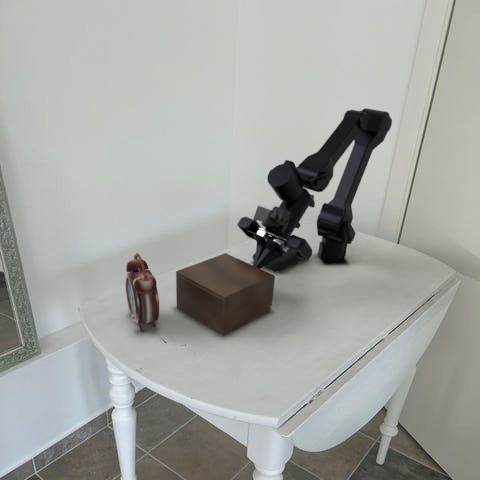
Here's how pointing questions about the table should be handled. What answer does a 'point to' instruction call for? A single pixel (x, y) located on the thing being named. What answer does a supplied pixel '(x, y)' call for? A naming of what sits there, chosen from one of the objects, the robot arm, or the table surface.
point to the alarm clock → (141, 292)
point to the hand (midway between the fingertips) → (254, 269)
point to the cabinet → (224, 293)
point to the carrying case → (283, 261)
